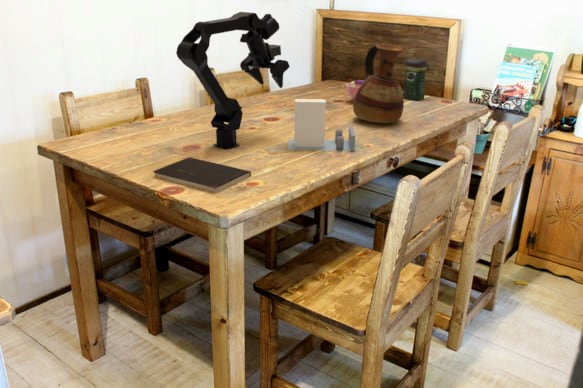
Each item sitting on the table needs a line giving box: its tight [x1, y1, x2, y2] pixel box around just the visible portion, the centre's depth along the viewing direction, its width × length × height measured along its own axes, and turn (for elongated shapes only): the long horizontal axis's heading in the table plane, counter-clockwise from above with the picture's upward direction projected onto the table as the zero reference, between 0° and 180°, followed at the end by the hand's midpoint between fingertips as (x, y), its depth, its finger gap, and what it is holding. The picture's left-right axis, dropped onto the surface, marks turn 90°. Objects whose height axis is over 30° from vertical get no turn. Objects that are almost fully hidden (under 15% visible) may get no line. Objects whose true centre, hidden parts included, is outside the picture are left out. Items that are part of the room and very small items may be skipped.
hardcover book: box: [152, 156, 252, 194], centre depth 158 cm, size 16×23×2 cm
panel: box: [293, 98, 327, 147], centre depth 182 cm, size 10×4×15 cm, turn 88°
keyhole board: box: [287, 126, 356, 152], centre depth 184 cm, size 22×12×6 cm, turn 88°
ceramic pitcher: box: [352, 42, 405, 124], centre depth 214 cm, size 20×20×30 cm
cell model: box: [345, 79, 366, 100], centre depth 250 cm, size 17×20×11 cm
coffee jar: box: [402, 57, 428, 101], centre depth 256 cm, size 10×8×19 cm
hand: (271, 85), depth 195 cm, fingers open, 9 cm apart
